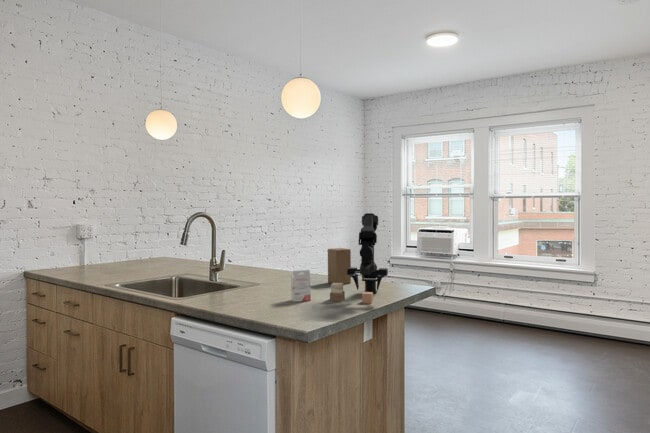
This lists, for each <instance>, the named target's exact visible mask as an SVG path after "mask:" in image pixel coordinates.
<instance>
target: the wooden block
mask: <svg viewBox="0 0 650 433" xmlns="http://www.w3.org/2000/svg"><path fill="white" fill-rule="evenodd" d="M351 250H352V249H350V248H343V247H337V248H336V247H335V248H334V247H333V248H327V283H328V284H332V283H343V285H348V283H350V284H352V279H351V278H352V277H350V275H347V269H348V268H350V267H352V264H351V263H352V262H351V259H352V257H351V256H352V255H351V254H352V253H351Z"/></svg>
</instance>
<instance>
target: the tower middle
mask: <svg viewBox="0 0 650 433" xmlns="http://www.w3.org/2000/svg"><path fill="white" fill-rule="evenodd" d="M343 291H344V284H343V283H330V293H342V292H343Z"/></svg>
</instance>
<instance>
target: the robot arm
mask: <svg viewBox="0 0 650 433" xmlns="http://www.w3.org/2000/svg"><path fill="white" fill-rule="evenodd" d="M361 225H362V227H361V228H360V232H359V233H358V245H359V246H361V248H360V250H359V255H360V257H361V258H360V260H361V261H360V265H359V269H358V267H352V266H351V267H350V268H348V269H347V275H350V277H351V278H352V279H353V281H354V283H355V284H354V285H355V287H356V290H357V291H358V290H359V275H358V274H360V275H361V281H362V282H364V291H363V292H373V295H374V294H377V293H378V291H379V288H380V285H381V282H382V279H383V278H385V277H387V276H388V275H389V269H388V268H385V267H383V268H382V267H380V268H378V265H377V264H376V262H375V246H376V244H377V241H378V235H377V233H376V231H377V229H378V226H379V216H378V215H375V213H372V212H369V213H368V212H366V213H364V214H363V216H361Z"/></svg>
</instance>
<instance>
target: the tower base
mask: <svg viewBox="0 0 650 433" xmlns="http://www.w3.org/2000/svg"><path fill="white" fill-rule="evenodd" d="M345 294H346V292H345V291H344V290H343V292H342V293H331V292H329V302H340V303H341V302H344V300H346V299H345V297H346V295H345Z"/></svg>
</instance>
